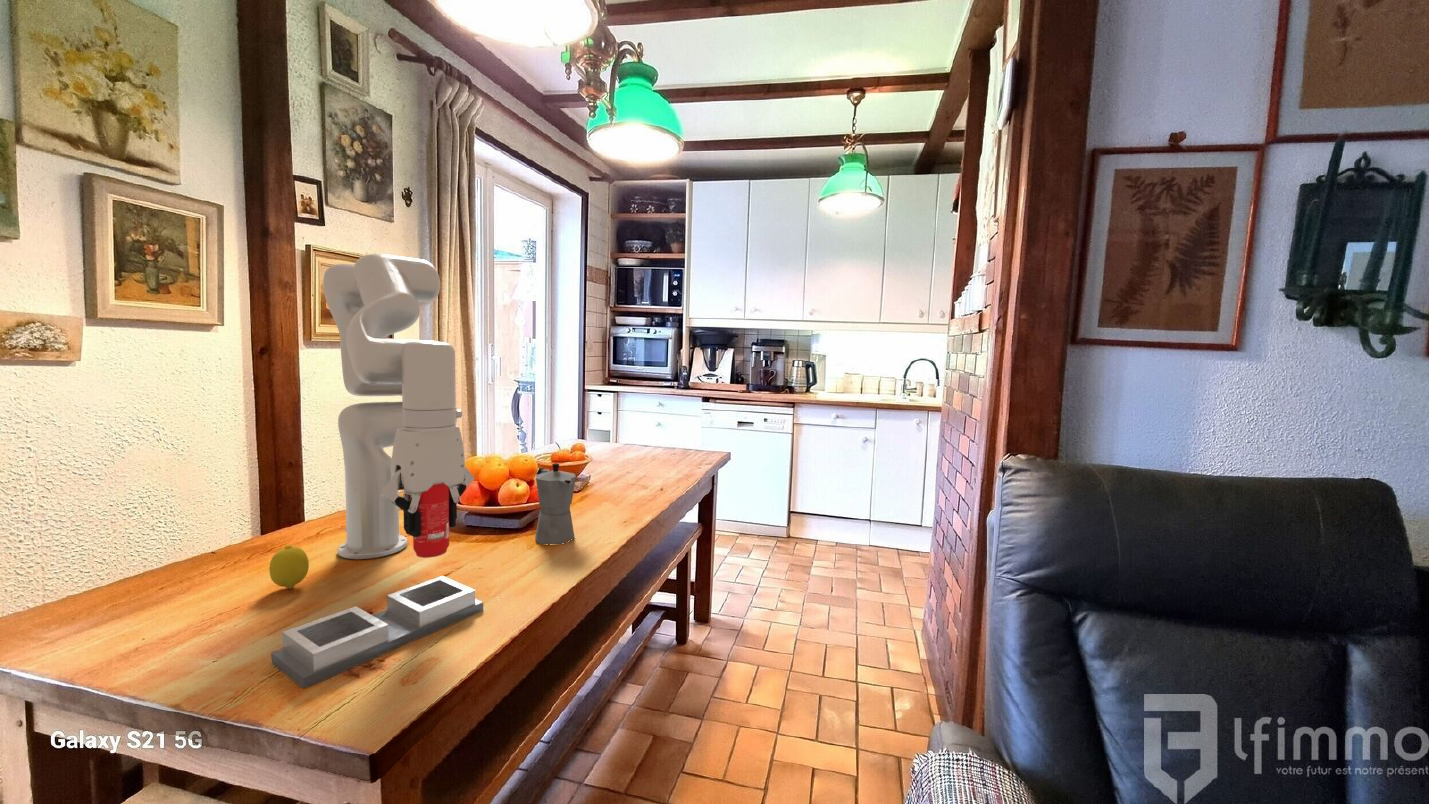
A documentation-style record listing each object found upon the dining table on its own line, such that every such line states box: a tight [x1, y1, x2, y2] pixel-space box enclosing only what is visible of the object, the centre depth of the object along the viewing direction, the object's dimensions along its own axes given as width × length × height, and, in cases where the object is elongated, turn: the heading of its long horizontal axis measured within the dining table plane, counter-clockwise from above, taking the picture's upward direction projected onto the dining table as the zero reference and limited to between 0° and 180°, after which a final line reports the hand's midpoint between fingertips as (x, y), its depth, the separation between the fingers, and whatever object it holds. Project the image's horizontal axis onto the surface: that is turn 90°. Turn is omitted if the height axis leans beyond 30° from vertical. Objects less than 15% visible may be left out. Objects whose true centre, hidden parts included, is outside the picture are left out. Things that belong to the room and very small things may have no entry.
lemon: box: [268, 544, 310, 590], centre depth 96 cm, size 6×6×8 cm
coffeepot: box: [534, 462, 577, 546], centre depth 126 cm, size 15×9×18 cm, turn 44°
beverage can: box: [412, 482, 450, 559], centre depth 87 cm, size 5×5×12 cm
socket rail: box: [270, 575, 484, 690], centre depth 83 cm, size 10×26×4 cm, turn 148°
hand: (431, 529), depth 88 cm, fingers closed on beverage can, 5 cm apart
